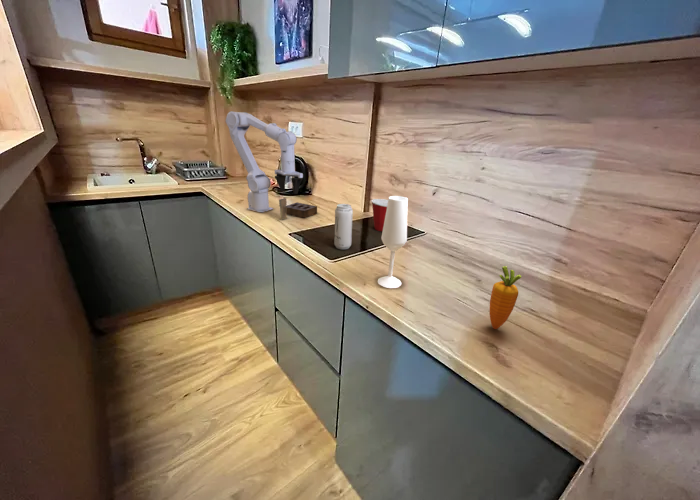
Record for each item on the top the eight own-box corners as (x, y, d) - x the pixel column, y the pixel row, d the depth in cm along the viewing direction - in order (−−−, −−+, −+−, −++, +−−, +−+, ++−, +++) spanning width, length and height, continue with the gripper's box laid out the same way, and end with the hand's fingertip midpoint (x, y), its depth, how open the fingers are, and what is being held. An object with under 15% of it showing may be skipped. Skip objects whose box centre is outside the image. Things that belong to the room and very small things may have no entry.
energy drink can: (332, 244, 109) (332, 203, 103) (347, 242, 111) (349, 202, 105) (337, 250, 104) (338, 208, 98) (353, 249, 106) (355, 207, 100)
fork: (280, 219, 133) (279, 199, 130) (285, 217, 136) (284, 198, 133) (281, 220, 133) (280, 199, 130) (287, 218, 136) (286, 198, 132)
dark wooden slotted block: (283, 213, 142) (283, 206, 140) (297, 209, 150) (296, 202, 149) (304, 218, 137) (304, 210, 135) (317, 213, 145) (317, 206, 143)
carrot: (511, 335, 65) (530, 274, 60) (489, 336, 65) (506, 274, 59) (499, 321, 70) (515, 263, 64) (478, 322, 70) (493, 263, 64)
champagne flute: (406, 285, 84) (417, 200, 75) (386, 290, 81) (395, 202, 72) (392, 274, 89) (400, 194, 80) (373, 279, 86) (379, 196, 77)
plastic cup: (396, 234, 122) (399, 205, 118) (369, 233, 122) (371, 203, 118) (393, 225, 132) (396, 198, 127) (368, 224, 132) (370, 197, 128)
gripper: (269, 160, 132) (270, 191, 137) (295, 163, 126) (296, 196, 131) (280, 159, 138) (281, 188, 143) (305, 162, 131) (306, 193, 137)
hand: (289, 192), depth 137 cm, fingers open, 7 cm apart
